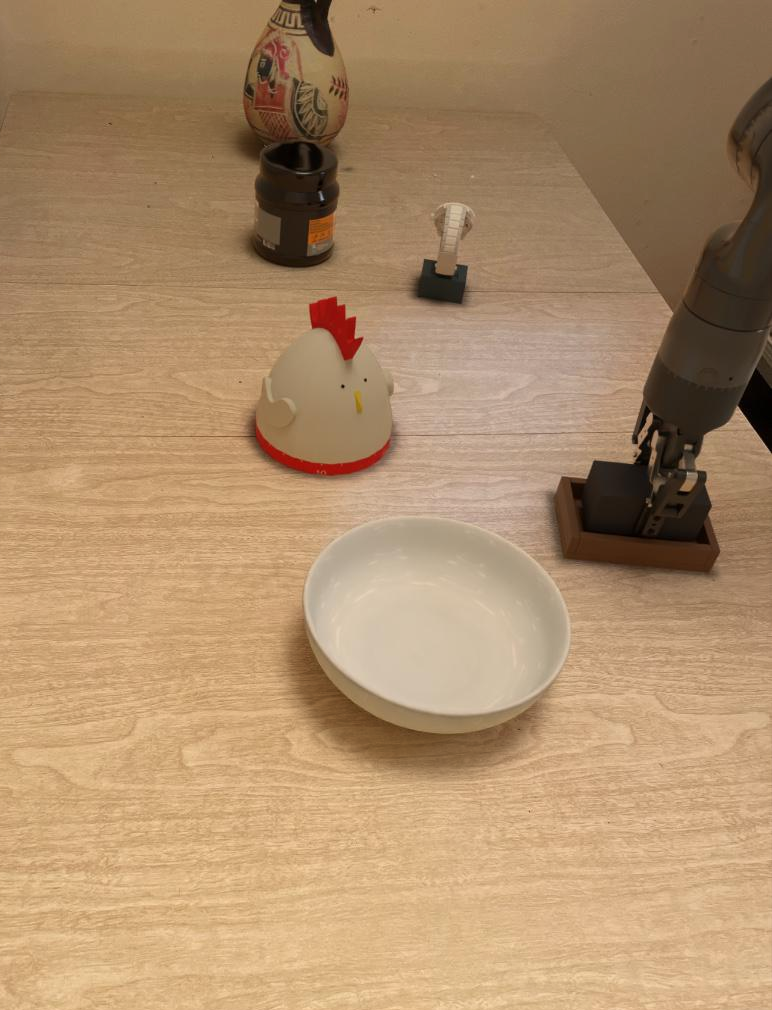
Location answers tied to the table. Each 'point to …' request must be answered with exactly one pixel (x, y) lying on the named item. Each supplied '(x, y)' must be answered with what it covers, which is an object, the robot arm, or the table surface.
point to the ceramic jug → (296, 77)
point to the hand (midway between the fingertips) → (638, 514)
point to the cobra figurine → (447, 255)
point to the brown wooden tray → (627, 539)
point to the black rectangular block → (633, 502)
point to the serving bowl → (435, 623)
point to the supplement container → (296, 203)
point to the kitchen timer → (326, 399)
